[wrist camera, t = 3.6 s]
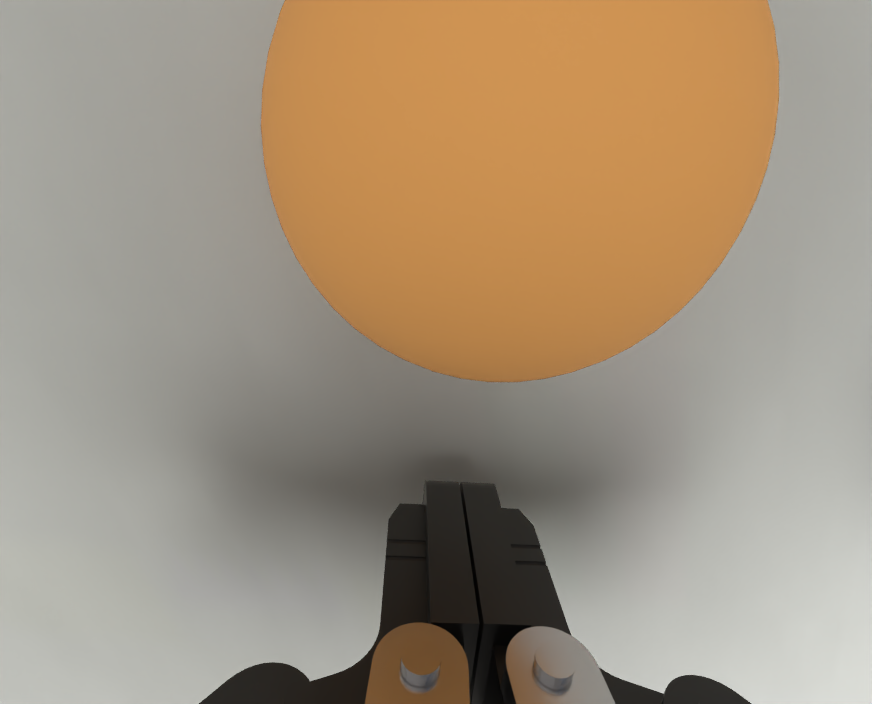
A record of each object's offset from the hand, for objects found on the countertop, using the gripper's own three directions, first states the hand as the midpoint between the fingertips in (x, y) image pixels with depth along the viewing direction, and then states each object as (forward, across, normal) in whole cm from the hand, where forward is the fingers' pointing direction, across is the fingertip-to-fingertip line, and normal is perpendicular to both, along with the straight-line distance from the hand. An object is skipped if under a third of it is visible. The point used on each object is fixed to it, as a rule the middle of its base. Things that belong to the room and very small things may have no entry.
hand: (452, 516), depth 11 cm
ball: (-2, 0, -7) cm, 8 cm away
